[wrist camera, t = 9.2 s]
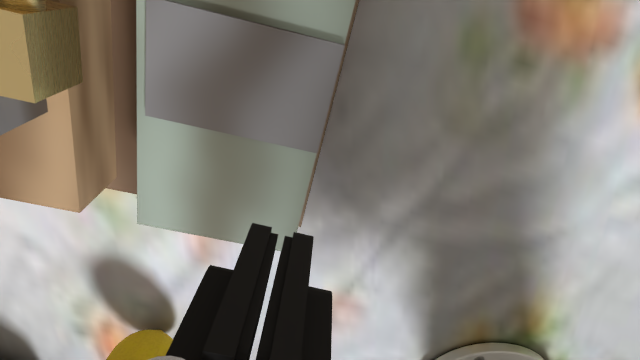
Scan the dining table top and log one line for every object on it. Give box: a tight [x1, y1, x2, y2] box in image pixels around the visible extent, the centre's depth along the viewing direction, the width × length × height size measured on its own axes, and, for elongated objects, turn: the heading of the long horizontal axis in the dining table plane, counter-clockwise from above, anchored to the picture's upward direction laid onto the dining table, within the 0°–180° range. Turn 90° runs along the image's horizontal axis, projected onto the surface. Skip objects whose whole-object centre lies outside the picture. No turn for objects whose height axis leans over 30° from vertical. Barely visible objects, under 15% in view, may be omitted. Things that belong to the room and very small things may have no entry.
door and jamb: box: [0, 0, 359, 251], centre depth 17 cm, size 21×20×9 cm
